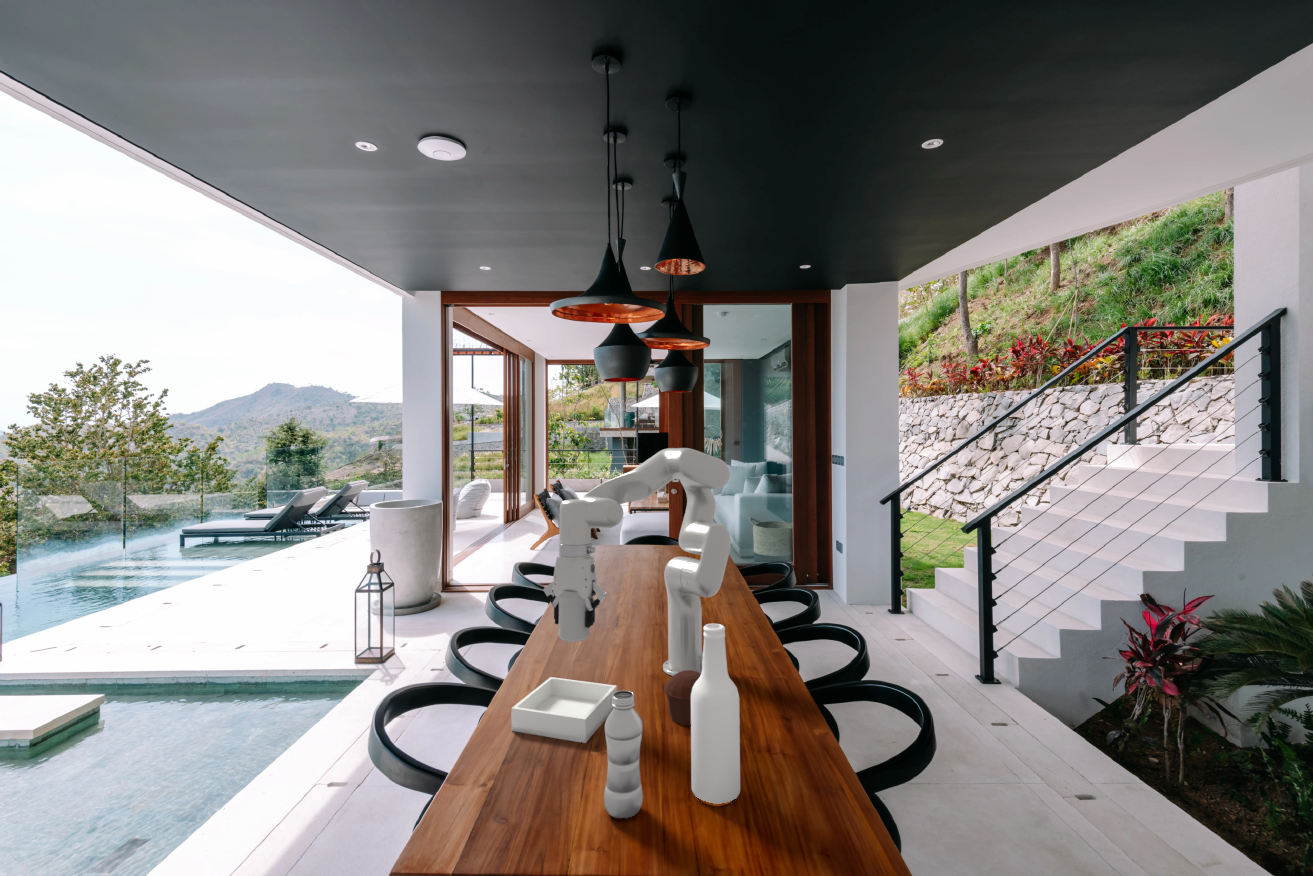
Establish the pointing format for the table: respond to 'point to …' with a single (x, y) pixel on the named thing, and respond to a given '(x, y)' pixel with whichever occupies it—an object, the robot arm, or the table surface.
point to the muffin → (681, 695)
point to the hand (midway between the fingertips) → (574, 624)
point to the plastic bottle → (623, 757)
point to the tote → (564, 709)
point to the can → (572, 617)
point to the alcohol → (715, 725)
